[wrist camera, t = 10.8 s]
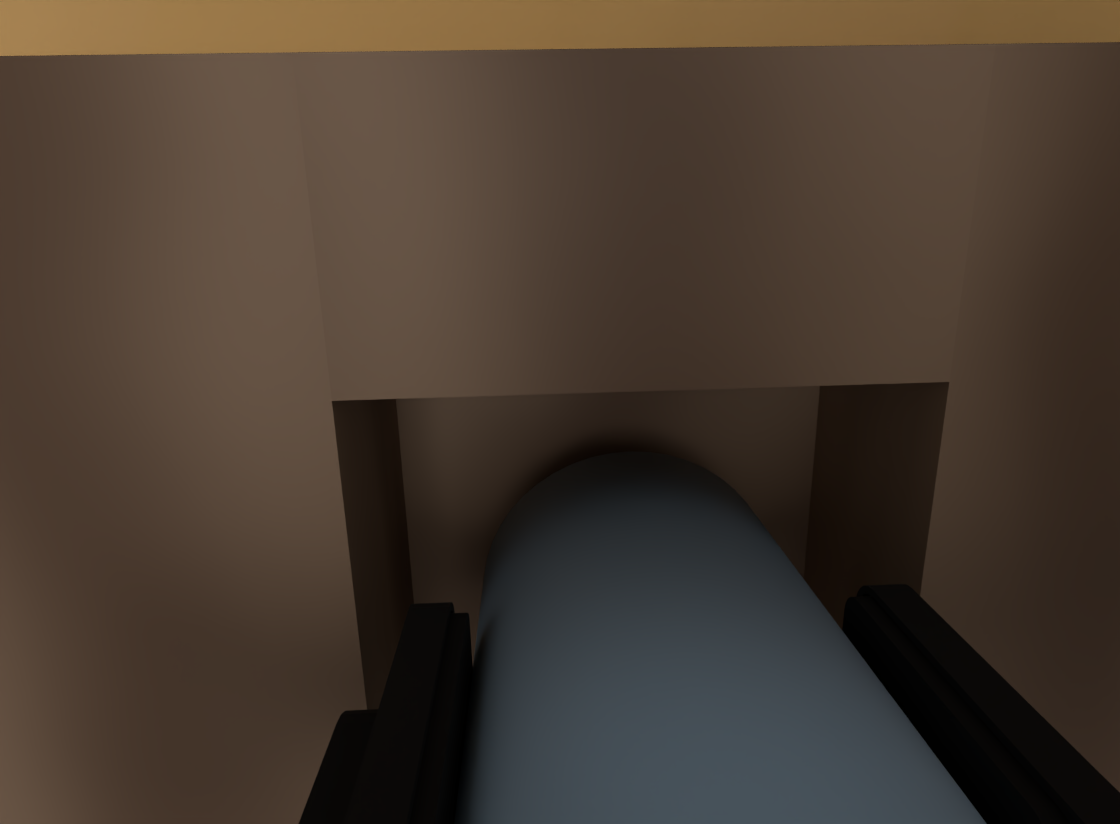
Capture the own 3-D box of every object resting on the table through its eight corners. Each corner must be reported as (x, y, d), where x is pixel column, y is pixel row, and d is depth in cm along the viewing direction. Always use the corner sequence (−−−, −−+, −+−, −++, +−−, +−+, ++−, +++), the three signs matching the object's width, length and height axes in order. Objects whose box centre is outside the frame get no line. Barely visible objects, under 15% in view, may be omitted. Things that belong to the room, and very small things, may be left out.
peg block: (1136, 102, 13) (1490, 37, 8) (1003, 794, 17) (1184, 1015, 13) (39, 119, 12) (-273, 58, 8) (189, 837, 17) (54, 1089, 12)
